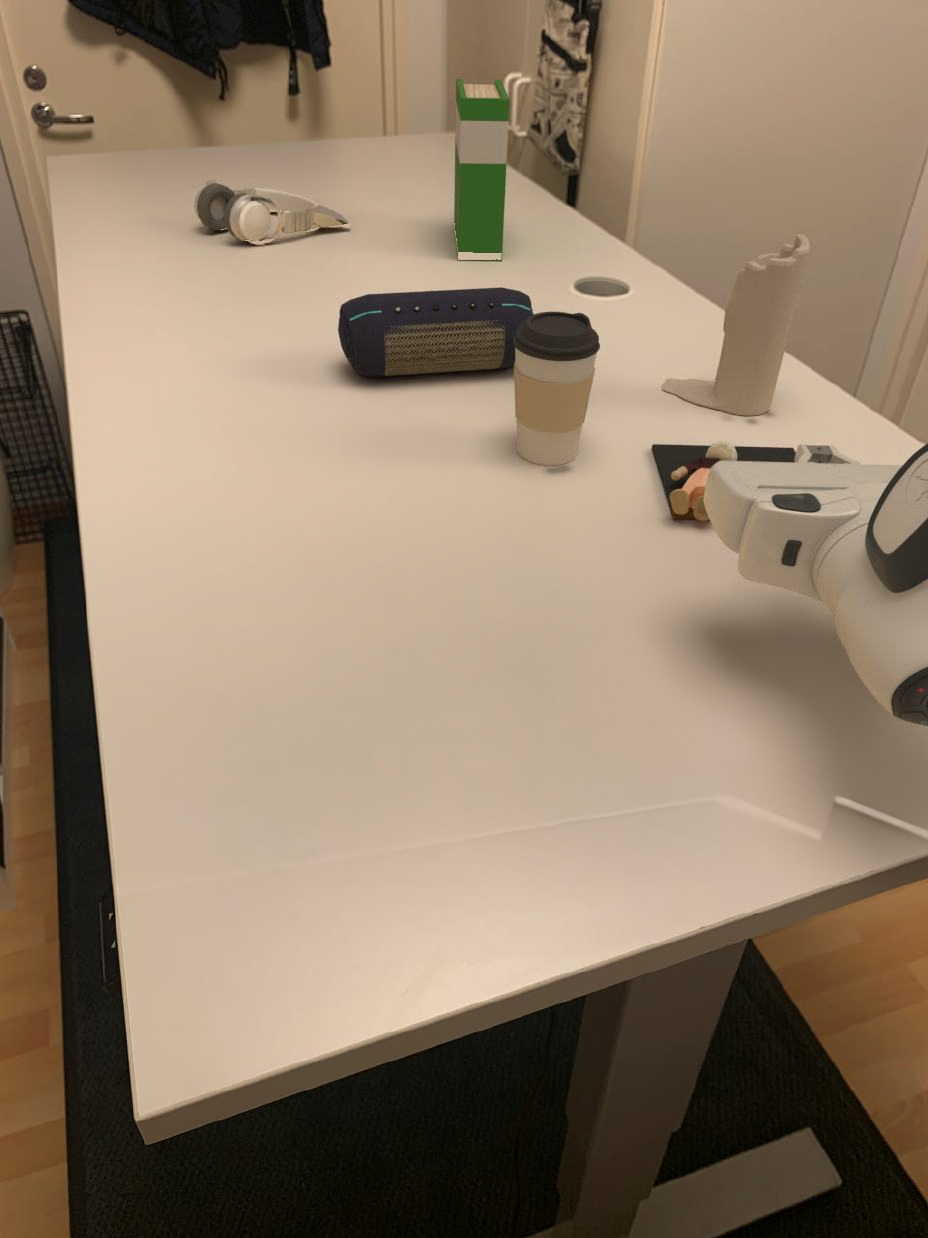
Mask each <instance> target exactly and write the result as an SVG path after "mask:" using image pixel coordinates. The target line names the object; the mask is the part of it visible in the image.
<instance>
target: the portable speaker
mask: <svg viewBox="0 0 928 1238" xmlns="http://www.w3.org/2000/svg"><path fill="white" fill-rule="evenodd" d="M534 314H535V313H534V311H533V306H532V300H531V298H530V295H528V294H527V293H524V292H522V291H521V290H516V289H511V288H506V287H480V288H461V289H443V290H442V289H441V290H440V289H439V290H424V291H406V292H405V291H404V292H403V291H402V292H384V293H368V294H364V295H360V296H358V297H354V298H350V299H349V300H347V301H346V302H344V303H342V304H341V305H340V308H339V316H338V317H339V318H338V324H337V332H338V337H339V338H338V339H339V343H340V347H341V349H342V351H343V354H344V356H345V358H346V359H347V361H348V363H349V364H350V366H351V368H352V370H353V371H354V372H355V373H357V374H359V375H362V376H364V377H370V378H381V377H395V376H396V377H397V376H398V377H399V376H411V375H426V374H441V373H455V372H470V371H471V372H472V371H486V370H505V369H510V368H514V362H515V361H516V359H515V346H514V344H513V339H514V337H515V336H516V331H517V329H518V328H519V327H520V326H521V325H522V324H523V323H525V322H526V320H527V319H528V318H529V317H530V316H532V315H534Z"/></svg>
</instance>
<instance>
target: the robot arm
mask: <svg viewBox="0 0 928 1238" xmlns="http://www.w3.org/2000/svg"><path fill="white" fill-rule="evenodd" d="M795 452H796V455H795V463H792V462H756V461H725V460H723V461H719V462H717V463H716V464H714V465H713V466H712V467H711V469H710V471H709V474H708V477H707V481H706V486H705V492H704V505H705V509H706V511H707V514H708V516H709V519H710V520H709V521H710V523H711V525H712V527H713V529H714V531H715V532H716V535H717V537H718V538H719V540H720V541H721V542H722V544H723V545H725V546H726V547H727V548H728V549H729V550H731V551H732V552H734V553H735V554H738V558H737V571H738V573H739V575H740V576H741V577H742V578H743V579H745V580H748V581H750V582H755V583H759V584H763V585H768V586H772V587H776V588H781V589H785V590H789V591H792V592H794V593H798V594H801V595H803V596H806V597H808V598H811V599H813V600H816V601H819V602H822V603H823V605H824V607H825V608H826V609H827V610H828V612H830V613H831V614H832V615H833V616H834V625H835V630H836V634H837V636H838V639H839V641H840V643H841V645H842V647H843V649H844V651H845V654H846V655H847V658H848V659H849V661H850V663H851V665H852V667H853V668H854V671H855V672H856V674H857V676H858V677H859V678H860V680H861V681H862V683H863V684H864V686H865V687H866V689H867V690H868V692H869V693H870V694H871V695H872V697H873V698H874V699H875V700H876V702H878V704H879V705H880V706H881V707H883V708H884V710H886V711H887V712H888V713H889V714H891V715H892V716H894V717H895V718H897V719H900V720H901V721H905V722H908V723H911V724H916V725H919V726H925V727H928V442H926V444H924V445H923V446H922V447H920V448H919V449H918V450H916V451H915V452H914V453H913V454H912V455H911V456H910V457H908V459H907V460H906V461H905V462H904V463H903V464H902V465H901V464H900V465H899V464H898V465H895V464H865V463H861V462H859V461H857V460H854V459H853V458H850V457H848V456H846V455H844V454H842V453H840V452H839V450H838V449H837V448H836V446H835V445H816V444H815V445H813V444H799V445H798V446H797V449H796V451H795Z"/></svg>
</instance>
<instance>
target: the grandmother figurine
mask: <svg viewBox="0 0 928 1238" xmlns="http://www.w3.org/2000/svg"><path fill="white" fill-rule="evenodd" d="M710 446H711V447H709V448H708V451H707V453H706V457H705V458H699V459H696V460H694V461H692V462H689V463H686V464H684V465H682V466H681V467H680V468H679V469H677V471H674V472H672V474H671V478H672V479H673V480H674V481H677V480H679V479H680V478H682V477H684V476H686V475H689V474H691V473H693V472H694V471H696V470H697V471H696V472H694V473H693V474H692V475H691V476H690V477H689V479H688V480H687V482H686V483H685V485H684V486H683V488H682V489H676V490H674V491H672V492H671V494H670V501H671V505H672V509H673V511H674V512H675V513H676V514H686V513H687V512H688V510H689V507H690V508H692V509H694V517H695V518H696V519H695V520H697V519H698V521H701V522H706V521H709V520H708V519H709V516H708V514H707V511H706V509H705V505H704V492H705V486H706V481H707V477H708V474H709V471H710V469H711V467H712V466H713V465H714V464H716V463H717V462H719V461H723V460H725V461H737V452H736V449H735V447H734V444H733V443H732V442H730V441H722V440H721V441H719V440H718V441H716V442H714V443H712V444H710Z"/></svg>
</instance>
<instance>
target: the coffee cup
mask: <svg viewBox="0 0 928 1238" xmlns="http://www.w3.org/2000/svg"><path fill="white" fill-rule="evenodd" d="M533 314H534V315H532V316H530V317H529V318H528V319H527V320H526V322H525V323H523V324H522V325H521V326H520V327H519V328H518V329H517V331H516V336H515V337H514V339H513V344H514V346H515V359H516V361H515V362H514V367H513V381H514V382H513V383H514V412H515V413H514V414H515V420H516V451H517V453H518V455H519V456H520V457H521V458H522V459H524V460H526V461H527V462H530V463H532V464H536V465H540V466H541V465H542V466H560V465H564V464H569V463H570V462H572V461H573V460H574V459H576V457H577V454H578V450H579V445H580V441H581V434H582V429H583V425H584V423H585V420H586V415H587V411H588V407H589V406H588V405H589V401H590V395H591V391H592V387H593V382H594V376H595V372H596V367H595V364H596V359H597V354H598V352H599V351H600V348H601V344H600V341H599V340H600V336H599V334H598V332H597V331H596V330H595V329H594V328H593V327H592V323H591V320H590V317H589V316H587V314H584V313H582V312H576V313H570V312H564V311H542V312H537V313H533Z"/></svg>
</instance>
